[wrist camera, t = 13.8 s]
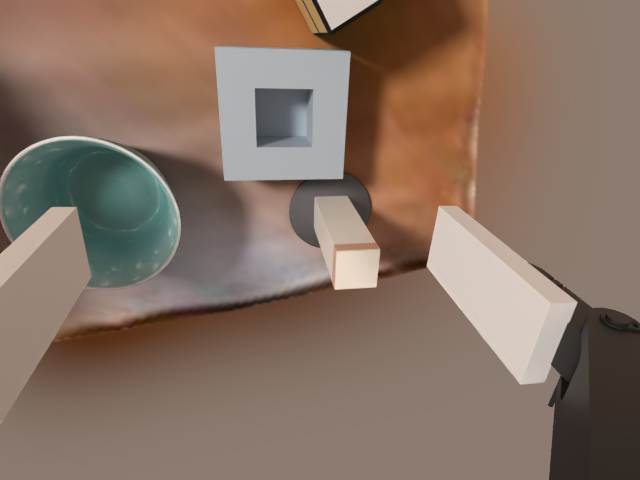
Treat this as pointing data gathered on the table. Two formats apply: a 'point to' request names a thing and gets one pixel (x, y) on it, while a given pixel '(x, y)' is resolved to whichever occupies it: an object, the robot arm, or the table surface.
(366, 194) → the coaster
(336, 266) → the plug
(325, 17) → the puzzle cube
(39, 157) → the bowl
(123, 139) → the table surface
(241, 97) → the socket block
